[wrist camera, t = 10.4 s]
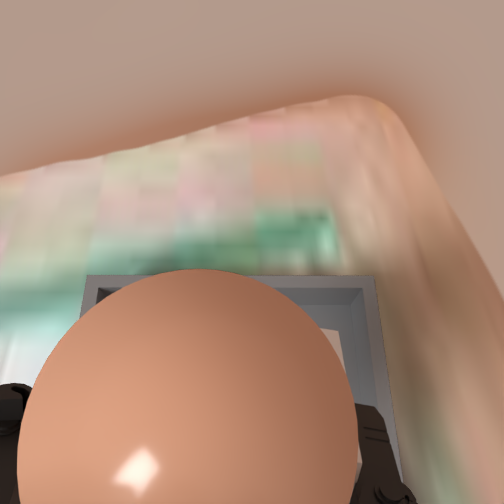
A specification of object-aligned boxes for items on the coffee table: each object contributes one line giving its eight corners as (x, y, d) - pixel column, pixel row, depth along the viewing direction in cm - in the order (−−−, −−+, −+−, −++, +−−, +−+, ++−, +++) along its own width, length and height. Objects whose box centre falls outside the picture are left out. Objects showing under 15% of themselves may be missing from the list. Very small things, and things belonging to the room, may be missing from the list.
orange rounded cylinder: (288, 369, 21) (340, 268, 10) (296, 529, 18) (380, 635, 7) (153, 370, 20) (54, 269, 10) (138, 531, 18) (-26, 644, 7)
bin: (358, 297, 37) (373, 275, 33) (402, 657, 27) (434, 696, 22) (105, 297, 37) (87, 275, 32) (50, 663, 26) (10, 705, 22)
